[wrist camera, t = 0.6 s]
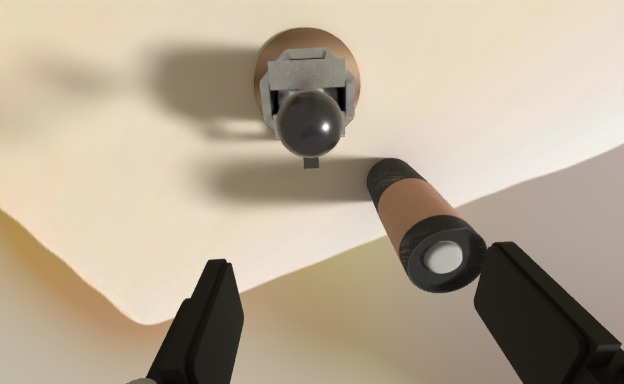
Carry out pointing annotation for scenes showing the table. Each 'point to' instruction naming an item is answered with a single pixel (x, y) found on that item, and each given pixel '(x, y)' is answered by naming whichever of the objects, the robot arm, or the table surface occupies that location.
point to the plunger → (309, 120)
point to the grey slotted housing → (307, 83)
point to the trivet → (305, 40)
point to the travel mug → (425, 229)
